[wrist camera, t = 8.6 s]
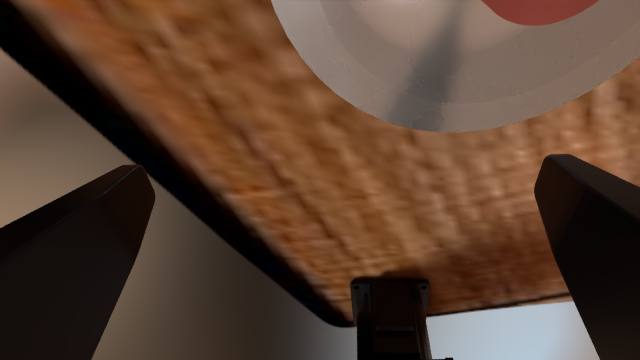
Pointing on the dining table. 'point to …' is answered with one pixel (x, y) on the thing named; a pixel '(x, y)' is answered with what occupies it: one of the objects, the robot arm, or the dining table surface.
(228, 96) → the dining table surface
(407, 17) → the lid
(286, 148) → the dining table surface
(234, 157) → the dining table surface
